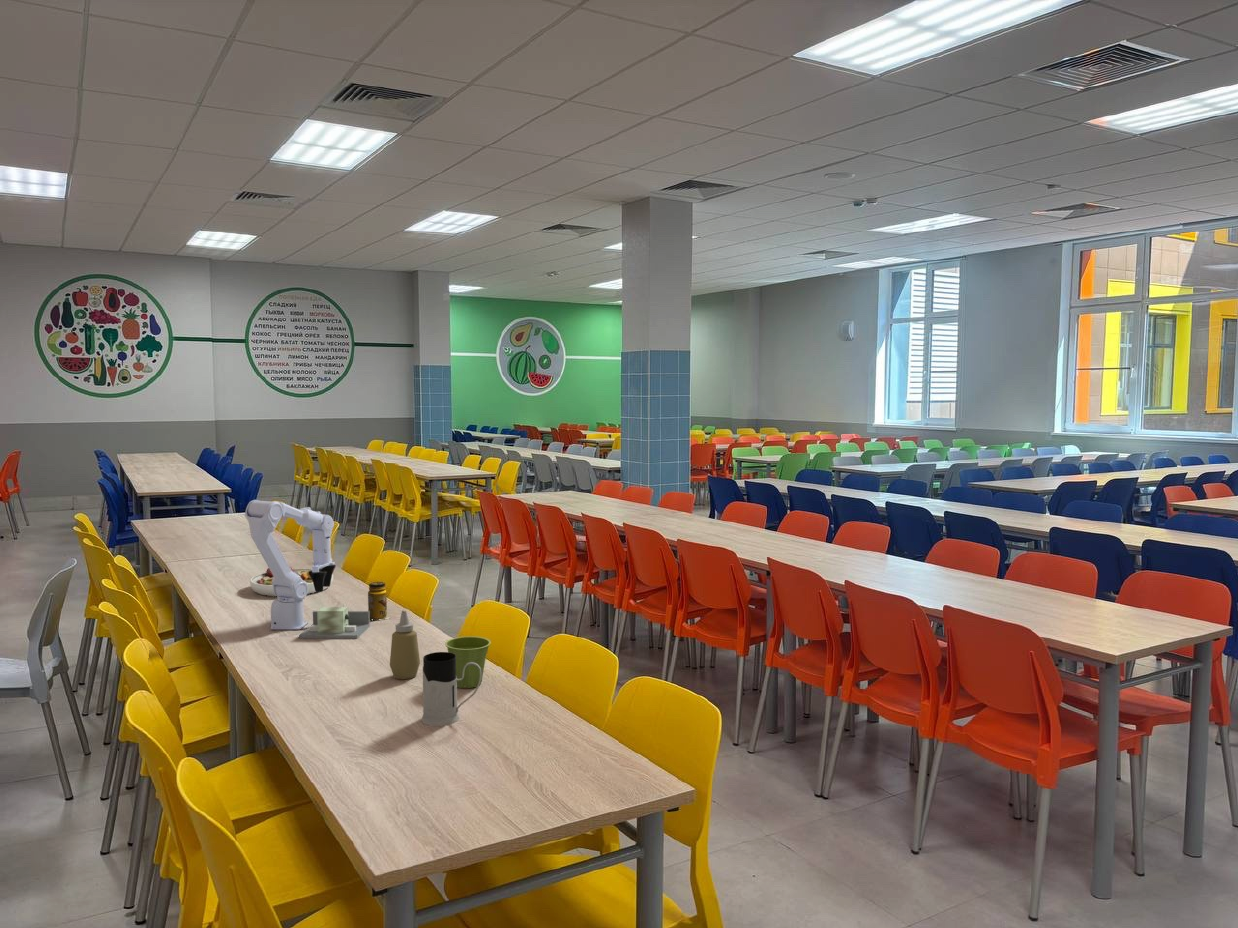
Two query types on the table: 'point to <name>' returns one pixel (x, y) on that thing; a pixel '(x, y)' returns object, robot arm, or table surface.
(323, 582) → the robot arm
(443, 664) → the glass holder
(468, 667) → the plant pot
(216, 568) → the table surface
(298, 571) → the bowl
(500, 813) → the table surface
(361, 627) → the board
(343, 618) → the block
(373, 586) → the condiment
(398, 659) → the squeeze bottle
